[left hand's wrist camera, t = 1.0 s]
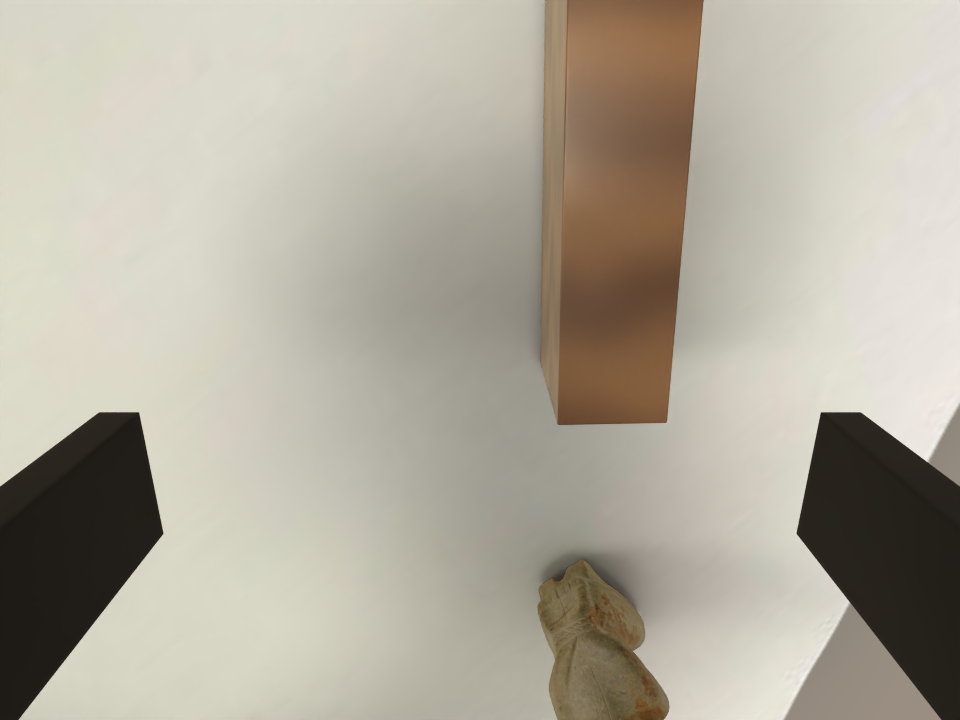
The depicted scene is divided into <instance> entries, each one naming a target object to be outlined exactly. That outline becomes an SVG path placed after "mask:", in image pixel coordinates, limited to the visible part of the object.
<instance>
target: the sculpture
mask: <svg viewBox="0 0 960 720" xmlns="http://www.w3.org/2000/svg"><path fill="white" fill-rule="evenodd" d="M539 594H540V598H541V601H540V602H539V604H538V614H539V617H540V621H541V624H542V628H543V631H544V633H545V636H546V639H547V641H548V644H549V646H550V648H551V650H552V652H553V654H554V656H555V663H554V667H553V670H552V674H551V678H550V683H549V693H550V697H551V701H552V704H553V707H554V710H555V713H556V716H557V719H558V720H664V719H665V717H666V716H667V714H668V712H669V701H668V698H667V696H666V694H665V692H664V691H663V689H662V688H661V686H660V685H659V683H658V682H657V681H656V679H655V678H654V676H653V675H652V674H651V673H650V672H649V671H648V670H647V668H646V667H645V666H644V664H643V663H642V662H641V660H640V659H639V658H638V657H637V656H636V654H635V653H634V652H633V650H635V649H637V648H638V647H639V646H640V645H641V644H642V643H643V641H644V638H645V629H644V624H643V621H642V619H641V617H640V615H639V613H638V612H637V610H636V608H635V607H634V606H633V605H632V604H631V603H630V602H629V601H628V600H627V599H626V598H625V597H624V596H622V595H621V594H620V593H619V592H618V591H616V590H615V589H614V588H612V587H611V586H610V585H608V584H607V583H605V582H604V581H603V580H602V579H601V578H600V577H599V576H598V575H597V574H596V573H595V572H594V571H593V569H592V567H591V566H590V564H588V563H587V562H586V561H583V560H580V561H578V562H576V563H574V564H573V565H571V566H569V567H568V568H567V569H566V572H565V575H564V577H563V579H562V580H561V581H560V580H558V579H557V578H551V579H549V580H547V581H546V582H545V583H544V584H543V585H541V586H540V588H539Z"/></svg>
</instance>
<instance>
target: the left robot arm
mask: <svg viewBox="0 0 960 720" xmlns="http://www.w3.org/2000/svg"><path fill="white" fill-rule="evenodd" d="M162 535H163V529H162V524H161V519H160V514H159V509H158V504H157V499H156V494H155V489H154V484H153V479H152V474H151V469H150V464H149V459H148V455H147V450H146V445H145V440H144V435H143V430H142V425H141V420H140V415H139V412H99V413H98V414H97V415H95V416H94V417H92V418H91V419H90V420H88V421H87V422H86V423H84V424H83V425H82V426H80V427H79V428H78V429H76V430H75V431H74V432H72V433H71V434H70V435H68V436H67V437H66V438H64V439H63V440H62V441H60V442H59V443H58V444H56V445H55V446H54V447H52V448H51V449H50V450H48V451H47V452H46V453H44V454H43V455H42V456H40V457H39V458H38V459H36V460H35V461H34V462H32V463H31V464H30V465H28V466H27V467H26V468H24V469H23V470H22V471H20V472H19V473H18V474H16V475H15V476H14V477H12V478H11V479H10V480H8V481H7V482H6V483H4V484H3V485H2V486H0V720H19V718H20V717H21V716H22V715H23V713H24V712H25V711H26V709H27V708H28V707H29V706H30V704H31V703H32V702H33V700H34V699H35V698H36V697H37V695H38V694H39V693H40V691H41V690H42V689H43V688H44V686H45V685H46V684H47V682H48V681H49V680H50V679H51V677H52V676H53V675H54V673H55V672H56V671H57V670H58V668H59V667H60V666H61V664H62V663H63V662H64V661H65V659H66V658H67V657H68V655H69V654H70V653H71V652H72V650H73V649H74V648H75V646H76V645H77V644H78V643H79V641H80V640H81V639H82V638H83V636H84V635H85V634H86V632H87V631H88V630H89V629H90V627H91V626H92V625H93V623H94V622H95V621H96V620H97V618H98V617H99V616H100V614H101V613H102V612H103V611H104V609H105V608H106V607H107V605H108V604H109V603H110V602H111V600H112V599H113V598H114V596H115V595H116V594H117V593H118V591H119V590H120V589H121V587H122V586H123V585H124V584H125V582H126V581H127V580H128V578H129V577H130V576H131V575H132V573H133V572H134V571H135V569H136V568H137V567H138V566H139V564H140V563H141V562H142V560H143V559H144V558H145V557H146V555H147V554H148V553H149V552H150V550H151V549H152V548H153V546H154V545H155V544H156V543H157V541H158V540H159V539H160V537H161V536H162ZM797 535H798V536H799V537H800V539H801V540H802V541H803V543H804V544H805V545H806V546H807V548H808V549H809V550H810V551H811V553H812V554H813V555H814V557H815V558H816V559H817V560H818V562H819V563H820V564H821V566H822V567H823V568H824V569H825V571H826V572H827V573H828V575H829V576H830V577H831V578H832V580H833V581H834V582H835V584H836V585H837V586H838V587H839V589H840V590H841V591H842V593H843V594H844V595H845V596H846V598H847V599H848V600H849V602H850V603H851V604H852V605H853V607H854V608H855V609H856V611H857V612H858V613H859V614H860V616H861V617H862V618H863V620H864V621H865V622H866V623H867V625H868V626H869V627H870V628H871V630H872V631H873V632H874V634H875V635H876V636H877V638H878V639H879V640H880V641H881V643H882V644H883V645H884V646H885V648H886V649H887V650H888V652H889V653H890V654H891V655H892V657H893V658H894V659H895V661H896V662H897V663H898V664H899V666H900V667H901V668H902V670H903V671H904V672H905V673H906V675H907V676H908V677H909V679H910V680H911V681H912V682H913V684H914V685H915V686H916V688H917V689H918V690H919V691H920V693H921V694H922V695H923V697H924V698H925V699H926V700H927V702H928V703H929V704H930V706H931V707H932V708H933V709H934V711H935V712H936V713H937V715H938V716H939V717H940V718H941V720H960V486H958V485H957V484H956V483H954V482H953V481H952V480H950V479H949V478H948V477H946V476H945V475H944V474H942V473H941V472H940V471H938V470H937V469H935V468H934V467H933V466H932V465H930V464H929V463H928V462H926V461H925V460H924V459H922V458H921V457H920V456H918V455H917V454H916V453H914V452H913V451H912V450H910V449H909V448H908V447H906V446H905V445H904V444H902V443H901V442H900V441H898V440H897V439H896V438H894V437H893V436H892V435H890V434H889V433H888V432H886V431H885V430H884V429H882V428H881V427H880V426H878V425H877V424H876V423H874V422H873V421H872V420H870V419H869V418H868V417H866V416H865V415H863V414H862V413H861V412H821V415H820V420H819V425H818V430H817V435H816V440H815V445H814V450H813V455H812V460H811V464H810V469H809V474H808V479H807V484H806V489H805V494H804V499H803V504H802V509H801V514H800V519H799V524H798V529H797Z"/></svg>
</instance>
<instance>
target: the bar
mask: <svg viewBox="0 0 960 720" xmlns="http://www.w3.org/2000/svg"><path fill="white" fill-rule="evenodd" d="M702 11H703V0H545V60H544V138H543V215H542V293H541V366H542V369H543V373H544V377H545V380H546V384H547V388H548V391H549V395H550V398H551V402H552V406H553V409H554V413H555V417H556V420H557V424H558V425H578V424H628V423H666V422H667V414H668V403H669V391H670V380H671V368H672V357H673V345H674V334H675V322H676V311H677V299H678V288H679V276H680V265H681V253H682V242H683V230H684V218H685V207H686V195H687V184H688V172H689V161H690V149H691V138H692V126H693V115H694V103H695V92H696V80H697V69H698V57H699V46H700V34H701V23H702Z"/></svg>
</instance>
